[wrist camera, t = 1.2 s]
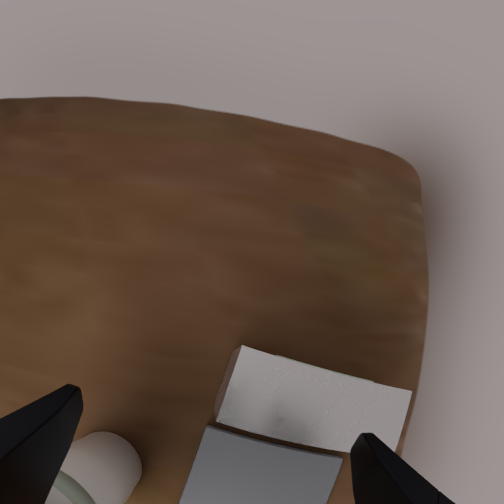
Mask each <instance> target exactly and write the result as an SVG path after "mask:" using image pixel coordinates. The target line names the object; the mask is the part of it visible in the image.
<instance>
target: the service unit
mask: <svg viewBox="0 0 504 504" xmlns="http://www.w3.org/2000/svg"><path fill="white" fill-rule="evenodd" d="M411 394H412V391H409V390H404V389H399V388H395V387H390V386H386V385H381V384H377V383H374V381H370V380H366V379H362V378H358V377H354V376H350V375H346V374H342V373H338V372H334V371H331V370H327V369H323V368H320V367H316V366H313V365H309V364H306V363H302V362H299V361H295V360H292V359H289V358H285V357H282V356H279V355H271V354H268V353H265V352H262V351H259V350H255V349H252V348H249V347H246V346H243V345H242V346H240V347H239V348H237V349H236V350H234V351H233V352H232V353H231V356H230V359H229V362H228V365H227V368H226V371H225V374H224V377H223V380H222V383H221V385H220V388H219V391H218V394H217V397H216V400H215V403H214V411H215V418H216V422H219V423H222V424H225V425H229V426H232V427H235V428H239V429H242V430H246V431H249V432H253V433H257V434H261V435H264V436H268V437H272V438H277V439H281V440H285V441H289V442H294V443H299V444H303V445H308V446H313V447H319V448H324V449H330V450H336V451H342V452H349V453H350V450H351V448H352V446H353V444H354V443H355V441H356V439H357V438H358V436H359V435H360V434H361V433H373V434H375V435H376V436H377V437H378V438H379V439H380V440H381V441H383V442H384V443H385V444H386V445H387V446H388V447H389V448H390V449H391V450H393V451H394V452H395V450H396V447H397V444H398V441H399V438H400V434H401V431H402V428H403V424H404V421H405V417H406V414H407V410H408V406H409V402H410V398H411Z"/></svg>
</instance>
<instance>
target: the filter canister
mask: <svg viewBox="0 0 504 504" xmlns="http://www.w3.org/2000/svg"><path fill="white" fill-rule="evenodd" d="M141 475H142V464H141V460H140V457H139V455H138V453H137V452H136V450H135V449H134V447H133V446H132V445H131V444H130V443H129V442H128V441H126V440H125V439H124V438H122V437H120V436H118V435H116V434H114V433H110V432H105V431H99V432H94V433H91V434H89V435H87V436H85V437H83V438H81V439H79V440H77V441H75V442H73V443H72V444H71V446H70V449H69V451H68V453H67V456H66V458H65V460H64V462H63V464H62V466H61V468H60V470H59V473H58V475H57V477H56V479H55V481H54V484H53V486H52V488H51V490H50V493H49V495H48V497H47V499H46V502H45V504H125V503H126V501H127V499H128V498H129V496H130V495H131V493H132V491H133V490H134V488H135V487H136V485H137V484H138V482H139V480H140V478H141Z"/></svg>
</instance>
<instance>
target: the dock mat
mask: <svg viewBox="0 0 504 504" xmlns="http://www.w3.org/2000/svg"><path fill="white" fill-rule="evenodd" d="M342 462H343V458H341V457H339V456H335V455H329V454H323V453H317V452H312V451H307V450H302V449H297V448H292V447H287V446H283V445H278V444H274V443H270V442H266V441H262V440H258V439H254V438H251V437H247V436H243V435H240V434H236V433H233V432H229V431H226V430H223V429H220V428H216V427H213V426H210V425H206V428H205V430H204V433H203V436H202V439H201V442H200V445H199V448H198V450H197V453H196V456H195V459H194V462H193V464H192V467H191V470H190V473H189V476H188V478H187V481H186V484H185V487H184V490H183V492H182V495H181V498H180V501H179V504H326V502H327V500H328V498H329V495H330V493H331V490H332V488H333V485H334V483H335V480H336V478H337V475H338V472H339V470H340V467H341V464H342Z"/></svg>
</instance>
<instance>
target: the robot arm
mask: <svg viewBox="0 0 504 504" xmlns="http://www.w3.org/2000/svg"><path fill="white" fill-rule="evenodd" d="M82 412H83V400H82V393H81V389H80V388H79V387H77V386H75V385H72V384H67V385H65V386H63V387H61V388H59V389H57V390H55V391H53V392H51V393H49V394H48V395H46V396H44V397H42V398H40V399H38V400H36V401H34V402H32V403H30V404H28V405H26V406H24V407H22V408H21V409H19V410H17V411H15V412H13V413H11V414H9V415H7V416H5V417H3V418H1V419H0V504H45V502H46V499H47V497H48V495H49V493H50V490H51V488H52V486H53V484H54V481H55V479H56V477H57V475H58V473H59V470H60V468H61V466H62V464H63V462H64V460H65V458H66V456H67V453H68V451H69V449H70V446H71V444H72V441H73V438H74V435H75V432H76V429H77V426H78V423H79V420H80V417H81V415H82ZM350 459H351V472H352V486H353V494H354V499H355V504H455V503H454V502H452V501H451V500H450V499H448V498H447V497H446V496H445V495H444V494H442V493H441V492H439V491H438V490H437V489H436V488H435V487H434V486H433V485H432V484H430V483H429V482H428V481H427V480H426V479H425V478H423V477H422V476H421V475H420V474H419V473H417V472H416V471H415V470H414V469H413V468H412V467H411V466H409V465H408V464H407V463H406V462H405V461H404V460H402V458H400V457H399V456H398V455H397V454H396V453H395V452H394V451H393V450H391V449H390V448H389V447H388V446H387V445H386V444H385V443H384V442H383V441H381V440H380V439H379V438H378V437H377V436H376V435H375V434H373V433H361V434H360V435H359V436H358V438H357V439H356V441H355V443H354V444H353V446H352V448H351V450H350Z"/></svg>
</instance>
